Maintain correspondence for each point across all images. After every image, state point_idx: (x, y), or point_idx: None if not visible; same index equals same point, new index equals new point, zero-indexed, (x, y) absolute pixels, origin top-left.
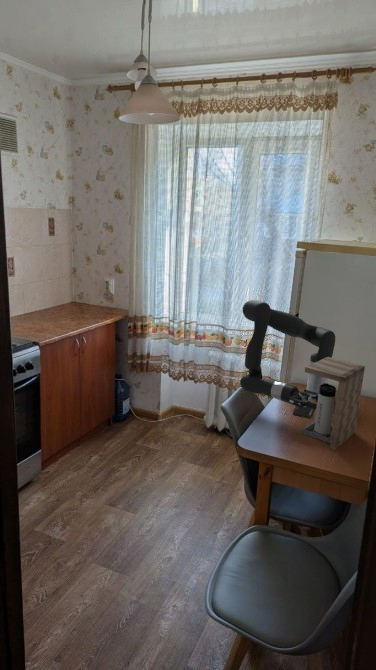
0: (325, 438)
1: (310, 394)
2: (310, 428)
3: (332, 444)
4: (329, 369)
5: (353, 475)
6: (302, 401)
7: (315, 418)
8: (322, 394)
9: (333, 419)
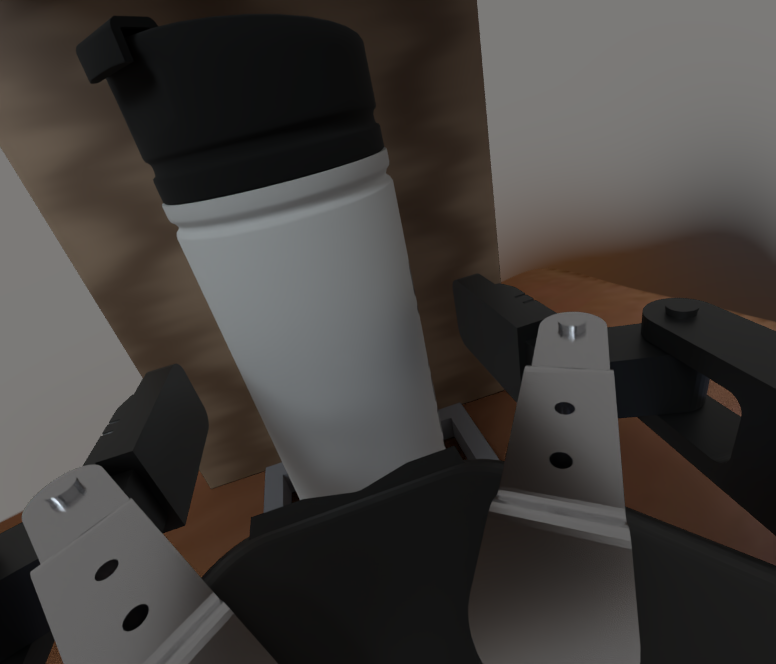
0: (474, 425)
1: (149, 526)
2: None
3: None
4: None
5: (552, 275)
6: (675, 300)
7: None
8: (380, 130)
9: (494, 214)
